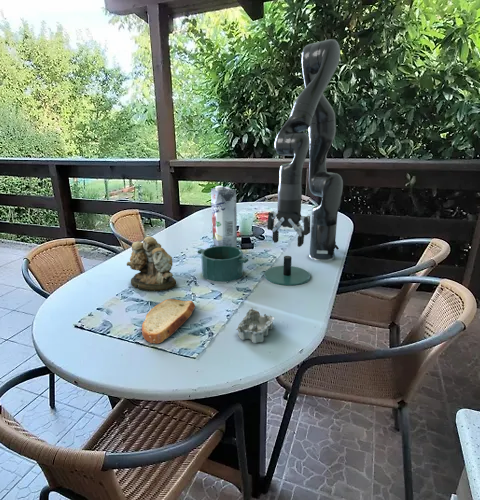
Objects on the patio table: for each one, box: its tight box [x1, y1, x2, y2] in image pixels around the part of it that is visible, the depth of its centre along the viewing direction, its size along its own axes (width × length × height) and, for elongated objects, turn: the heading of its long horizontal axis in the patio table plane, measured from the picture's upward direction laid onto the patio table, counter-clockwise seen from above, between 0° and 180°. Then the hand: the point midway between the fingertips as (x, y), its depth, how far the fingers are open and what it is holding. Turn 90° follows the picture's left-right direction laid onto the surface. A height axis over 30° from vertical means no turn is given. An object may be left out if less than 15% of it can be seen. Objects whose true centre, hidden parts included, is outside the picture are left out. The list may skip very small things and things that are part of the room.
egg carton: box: [235, 307, 275, 344], centre depth 96 cm, size 11×8×4 cm
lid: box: [264, 255, 311, 287], centre depth 127 cm, size 16×16×8 cm
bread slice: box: [141, 298, 196, 345], centre depth 103 cm, size 18×18×4 cm
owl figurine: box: [126, 235, 177, 293], centre depth 125 cm, size 18×12×17 cm, turn 69°
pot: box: [197, 245, 249, 283], centre depth 131 cm, size 15×20×8 cm
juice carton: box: [210, 185, 238, 247], centre depth 155 cm, size 9×10×27 cm
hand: (287, 244), depth 124 cm, fingers open, 8 cm apart
